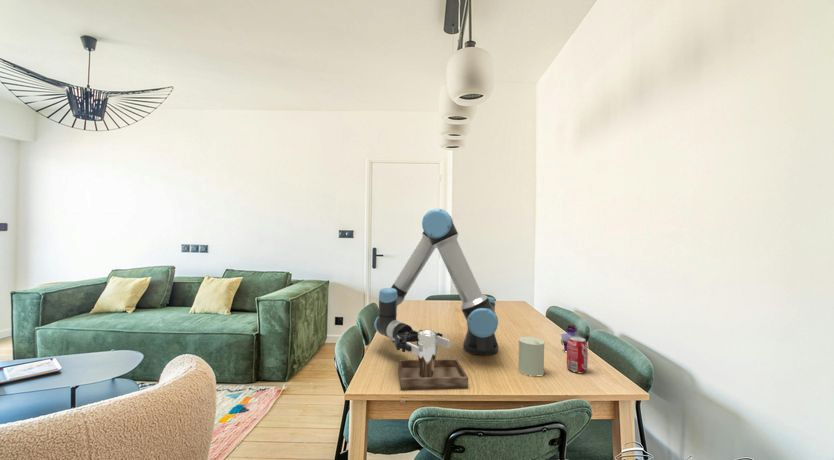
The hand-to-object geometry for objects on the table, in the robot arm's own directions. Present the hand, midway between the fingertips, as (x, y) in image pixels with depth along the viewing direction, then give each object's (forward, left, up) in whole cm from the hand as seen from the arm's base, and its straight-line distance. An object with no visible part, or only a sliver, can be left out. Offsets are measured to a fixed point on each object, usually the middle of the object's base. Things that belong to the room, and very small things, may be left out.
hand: (434, 347), depth 114 cm
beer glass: (+2, -1, -10) cm, 10 cm away
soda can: (-55, -5, -11) cm, 57 cm away
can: (-37, -5, -11) cm, 39 cm away
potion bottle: (-64, -24, -11) cm, 70 cm away
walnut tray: (+1, -1, -11) cm, 11 cm away
